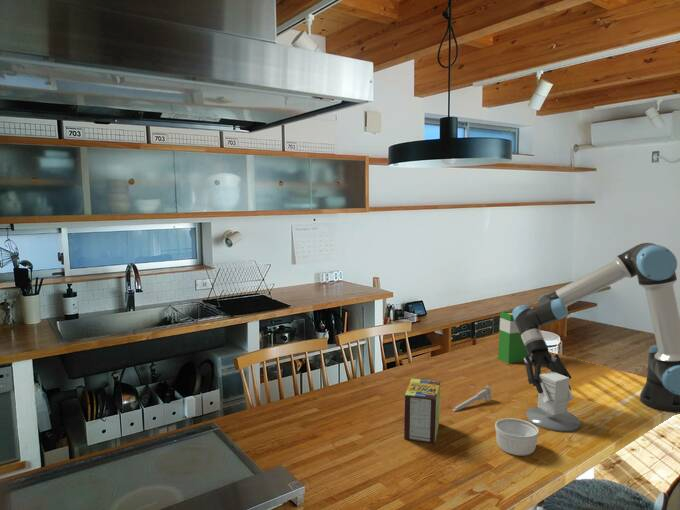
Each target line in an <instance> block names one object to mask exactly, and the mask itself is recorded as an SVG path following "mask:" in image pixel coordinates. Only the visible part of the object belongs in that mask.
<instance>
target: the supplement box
mask: <svg viewBox="0 0 680 510" xmlns="http://www.w3.org/2000/svg"><path fill="white" fill-rule="evenodd" d="M539 376H540V383H542V382H543V385H544V387H545V389H546V392H547V394H548V397H549V399H550V400H549V401H548V402H547V403H544V401H543V399H542V396H541V394H540V393H538V392H537V393H538V396H537V407H538V408H540V409H542V410H544V411H546V412H548V413H550V414H553V415H556V414H559V413H562V412H566V411H567V412H568V407H569V406H568V405H569V401H568V393H569V385H570V380H569V377H566V376H563V375H561V374H558V373H555V372H552V371H548V372H545V373H541V374H540V375H539Z"/></svg>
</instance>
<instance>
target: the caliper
mask: <svg viewBox="0 0 680 510" xmlns="http://www.w3.org/2000/svg"><path fill="white" fill-rule="evenodd" d="M491 395H492V391H491V387H490V386H489V385H486V386H484V389H483V390H480V391H479V392H477V393H476V394H475V395H474V396H472V397H469V398H468V399H467V400H465V401H463V402H461V403H459V404H458V405H455V406H454V408H453V409H452V410H451V411H452V412H454V413H455V412H458V411H460V410H463V409H464V408H466V407H467V406H469V405H471V404H473V403H475V402H476V401H481V400H482V399H484V401H485V402H488V400H489V401H490V400H492V399H491V397H492V396H491Z"/></svg>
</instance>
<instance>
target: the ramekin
mask: <svg viewBox="0 0 680 510" xmlns="http://www.w3.org/2000/svg"><path fill="white" fill-rule="evenodd" d="M494 425H495V426H494V429H495V438H496V444H497V446H498V447H499V448H500V450H502V451H503V452H505V453H507V454H510V455H514V456H518V457H520V456H521V457H522V456H530V455H531V454H532V453H534V452H535V450H536V447H537V443H538V437H539V435H540V431H539V428H538V426H536V425H534V424H532V423H531V422H529V421H527V420H524V419H519V418H512V417H511V418H510V417H507V418H500V419H498V420H496V421H495V424H494Z"/></svg>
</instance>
